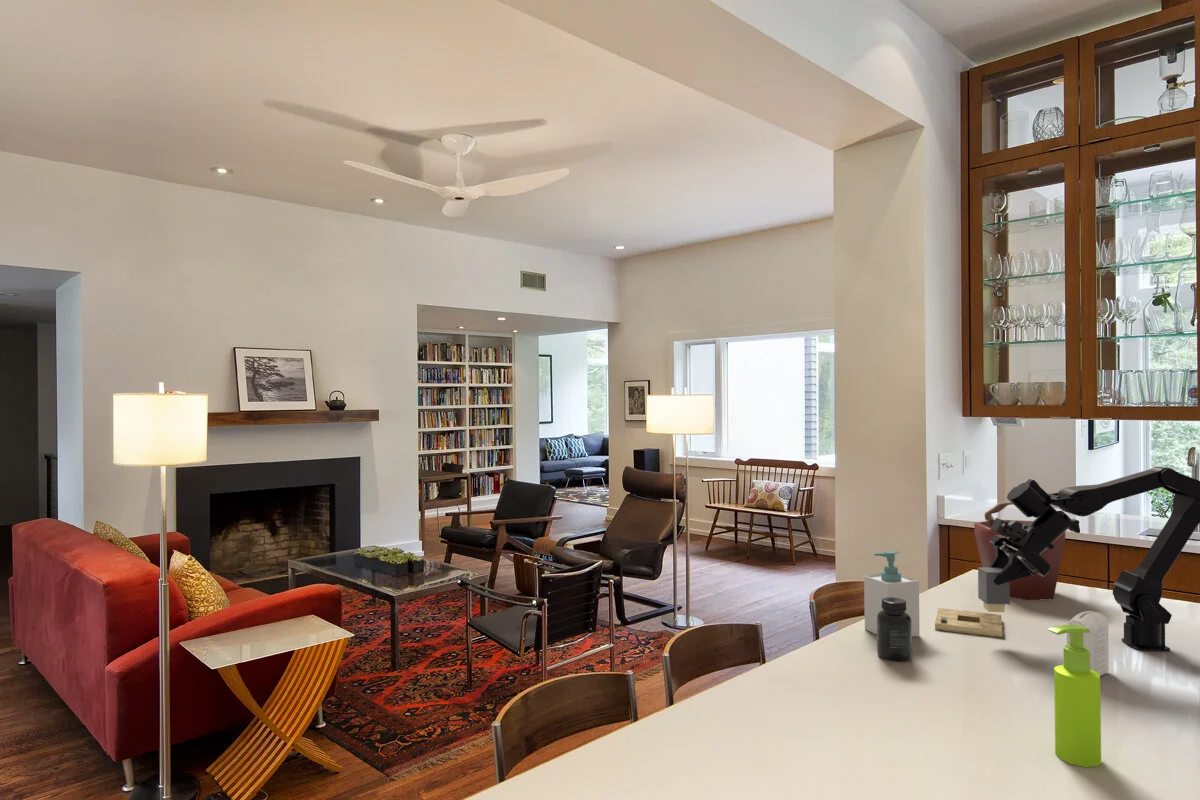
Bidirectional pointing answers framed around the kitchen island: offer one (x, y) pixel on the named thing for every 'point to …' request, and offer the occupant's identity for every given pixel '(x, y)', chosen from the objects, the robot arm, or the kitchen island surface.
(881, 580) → the soap bottle
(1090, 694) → the soap dispenser
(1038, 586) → the bucket
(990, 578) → the plug
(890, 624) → the supplement bottle
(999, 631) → the socket
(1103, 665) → the photo printer
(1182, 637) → the kitchen island surface
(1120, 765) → the kitchen island surface
